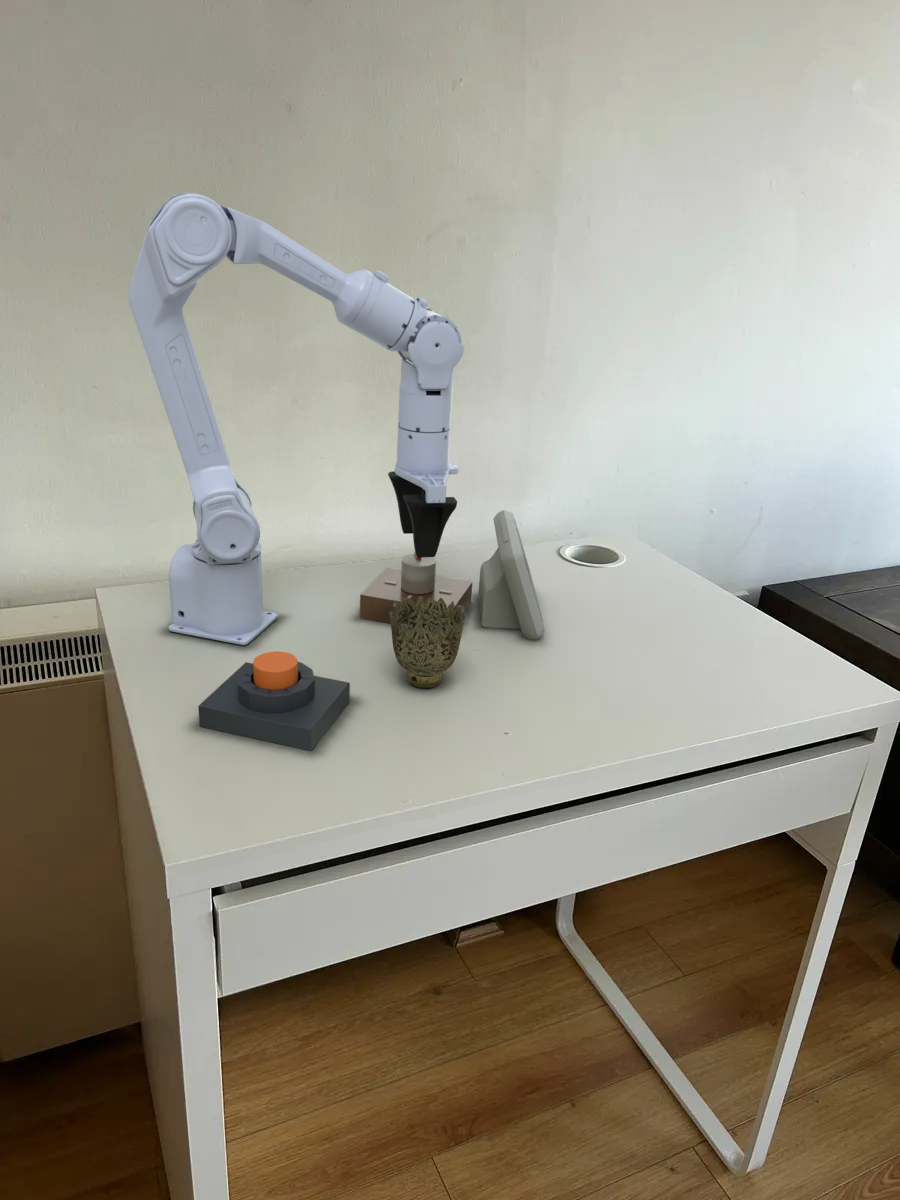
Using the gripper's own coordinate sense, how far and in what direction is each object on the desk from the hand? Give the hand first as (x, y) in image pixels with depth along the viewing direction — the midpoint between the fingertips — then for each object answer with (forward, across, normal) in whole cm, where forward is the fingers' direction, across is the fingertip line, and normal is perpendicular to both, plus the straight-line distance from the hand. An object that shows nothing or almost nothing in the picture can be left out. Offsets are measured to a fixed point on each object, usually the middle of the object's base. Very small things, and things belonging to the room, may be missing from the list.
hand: (418, 544), depth 103 cm
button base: (+9, -21, +18) cm, 29 cm away
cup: (+9, -17, +3) cm, 19 cm away
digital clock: (+9, -2, -12) cm, 15 cm away
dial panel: (+8, 0, 0) cm, 9 cm away
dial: (+5, 0, 0) cm, 5 cm away
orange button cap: (+5, -21, +18) cm, 28 cm away
